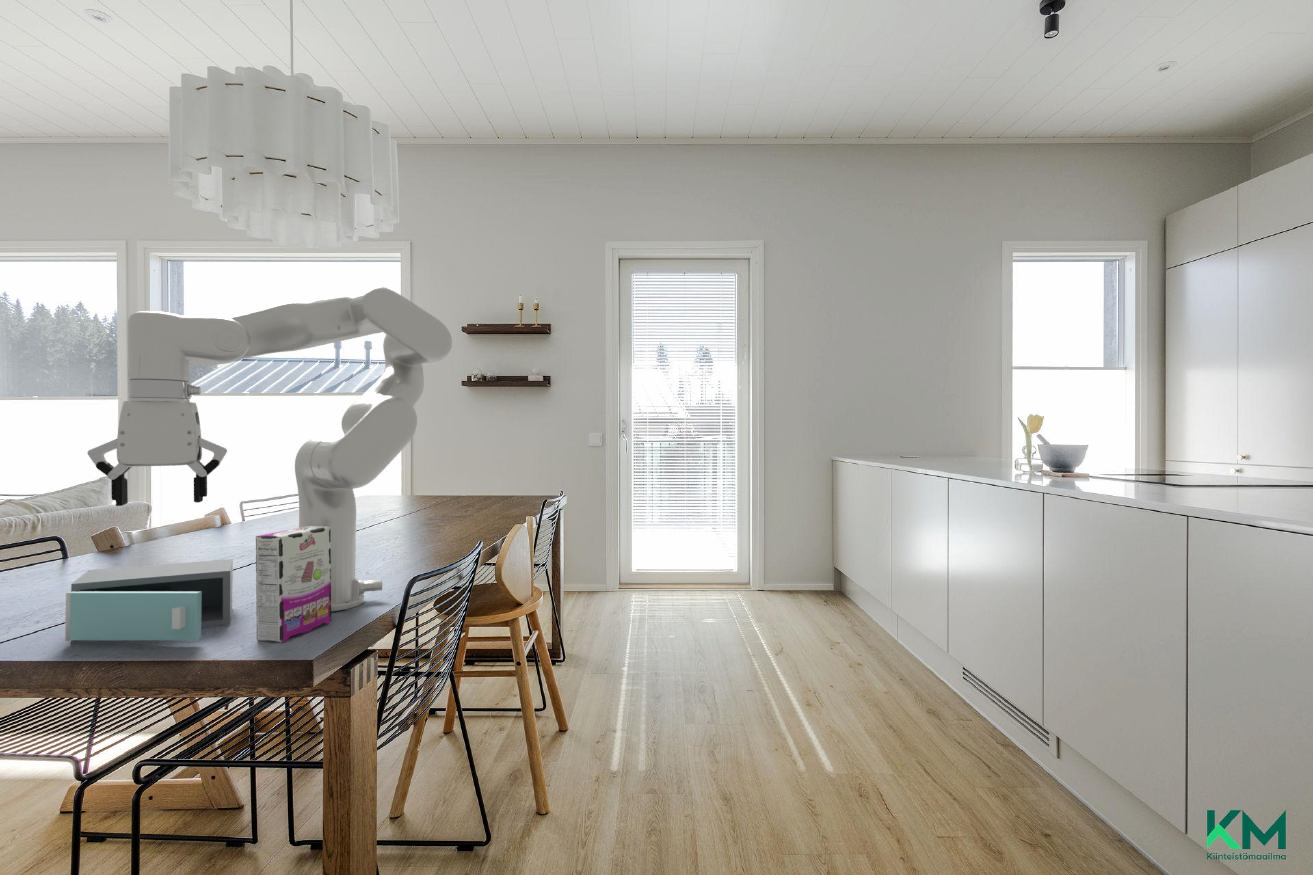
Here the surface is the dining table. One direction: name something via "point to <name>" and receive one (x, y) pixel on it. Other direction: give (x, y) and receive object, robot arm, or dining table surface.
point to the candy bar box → (293, 582)
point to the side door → (133, 615)
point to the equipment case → (171, 585)
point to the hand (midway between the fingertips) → (161, 503)
